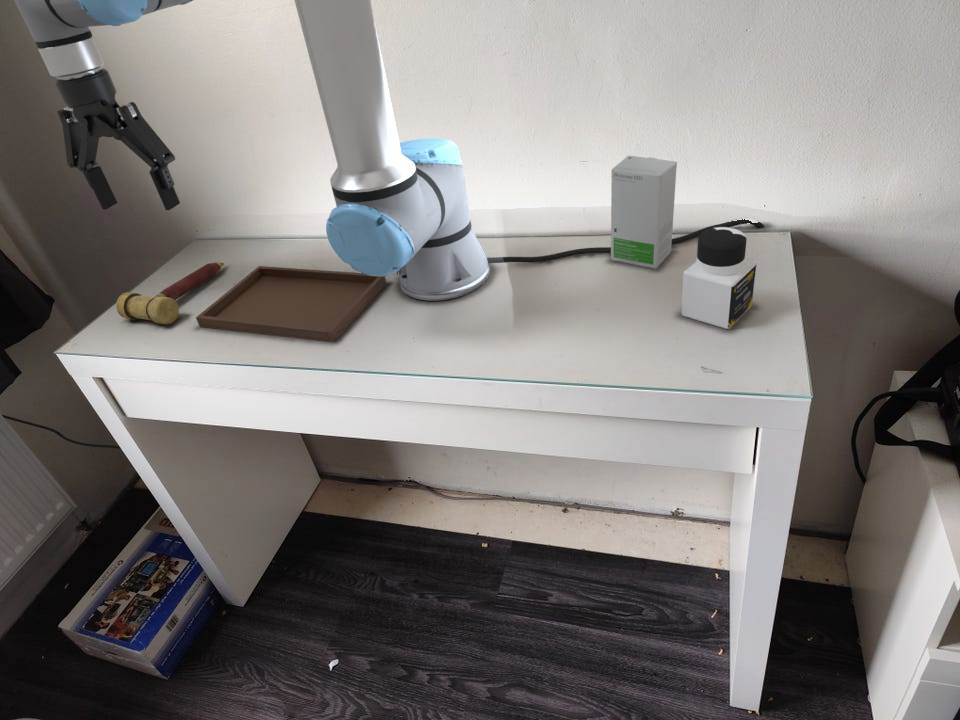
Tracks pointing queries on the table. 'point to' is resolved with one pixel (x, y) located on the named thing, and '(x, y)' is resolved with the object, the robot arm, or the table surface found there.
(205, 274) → the gavel
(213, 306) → the tray
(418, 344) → the table surface
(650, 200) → the cosmetic box
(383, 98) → the robot arm
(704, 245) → the medicine bottle
